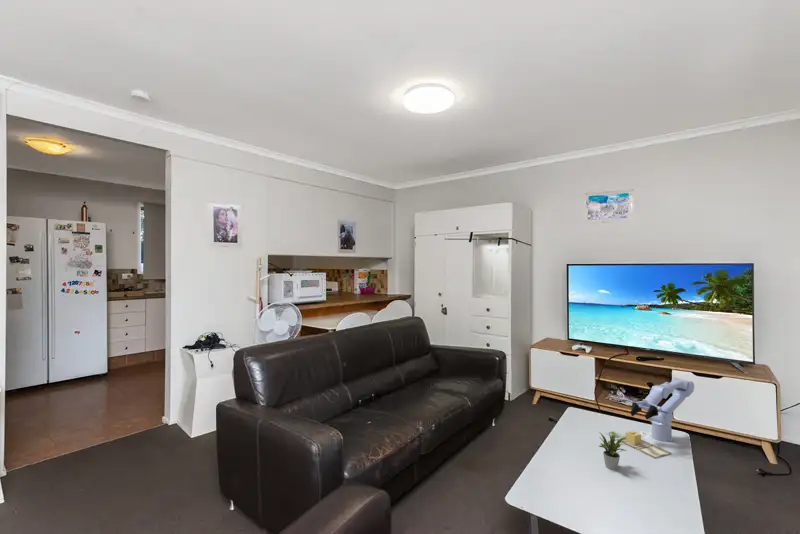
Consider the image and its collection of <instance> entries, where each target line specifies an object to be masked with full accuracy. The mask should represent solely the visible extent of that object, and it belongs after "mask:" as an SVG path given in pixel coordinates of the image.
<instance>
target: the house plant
mask: <svg viewBox="0 0 800 534" xmlns="http://www.w3.org/2000/svg"><path fill="white" fill-rule="evenodd" d="M598 432H599V434H600V436H601V437H599V436H598V437H599V439H601V438H602V439H601V441H602V442H603V443H601V442H600V445H598V447H599V448H602V449H603V448H604V451H603V452H602V454H603V460H604V466H605V467H606V468H607V469H609V470H613V471H615V470H618V467H619V464H620V458H621V457H620V456H621V455H620V454H619V453H620V452H623V451H624V452H628V450H627V449H624V448H621V447H622V446H625V444H623V443H621V442H628V441H622V440H624V439H623V438H625V437H626V436H624V437H620V438H621V439H620V438H616V439H615V433H613V434H612V436H610V434H609V435H608V436H609V439H610V440H608V441H607V439H606V436H605V435H604V434H603V433H601V432H600V431H598ZM617 440H618V441H617ZM618 450H619V451H618Z"/></svg>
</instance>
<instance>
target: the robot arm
mask: <svg viewBox="0 0 800 534" xmlns="http://www.w3.org/2000/svg"><path fill="white" fill-rule="evenodd" d="M694 390H695V384H694V382H693V381H691V380H690V381H689V380H687V379H681V378H678V377H672V379H671V381H670V382H668V381H665V382H664V383H661V384H660V385H652V387H651V390H650V391H649V394H648V395H647V396H646V397H645V399H644V398H643V399H642V400H641V401H640V400H639V401H632V402H631V410H630V415H631V417H634V416H636V414H637V413H640V412H641V409H642V410H645V411H646V413H645V414H644V418H645V419H646V420H650V423H651V438H652V439H653V440H655V441H658V442H674V439H673V436H672V434H673V432H672V431H673V430H672V426H671V424H672V422H673V420H674V415H673V412H675V410H676V409H677V408H678V407H679V406H680V405H681V404H682V403H683V402H684V401H685V400H686V398H688V397H690V396H691V395H692V394H693V392H694ZM670 394H673V395H672V396H670V398H669V399H668V397H669V395H670ZM663 399H668V400H666V401H665V403H664V404H662V405H661V406H658V404H660V402H661V401H662V400H663Z"/></svg>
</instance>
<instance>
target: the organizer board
mask: <svg viewBox="0 0 800 534" xmlns="http://www.w3.org/2000/svg"><path fill="white" fill-rule="evenodd" d="M613 433H615V440H616V442H617V441H618V440H617V439H621V438H623V437H625V438H623V439H624V440H622V441H626V436H625V435H624V434H622V433H619V432H617V431H615V430H613V431H609V432H605V433H604V434H605V435H606V436H609V434H610V436H612V434H613ZM610 436H609V437H610ZM622 443H623V444H624V446H627V447H630V448H631V449H635V450H636V451H638V452H639V453H642V454H644V455H646V456H649V457H651V458H652V459H658V458H662V457H666V456H669V455H672V452H670V451H668V450H666V449H664V448H662V447H660V446H657V445H655V444H652V443H651V442H648V441H646V440H644V439H642V438H641V444H638V445H633V444H631V443H628V442H621V443H620V444H622Z"/></svg>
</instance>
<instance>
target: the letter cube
mask: <svg viewBox="0 0 800 534" xmlns="http://www.w3.org/2000/svg"><path fill="white" fill-rule="evenodd" d="M625 437H626V441H628V443H631V444H633V445H638V444H641V439H642V434H641V433H639V432H636V431H635V430H630V431H626V432H625Z"/></svg>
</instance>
